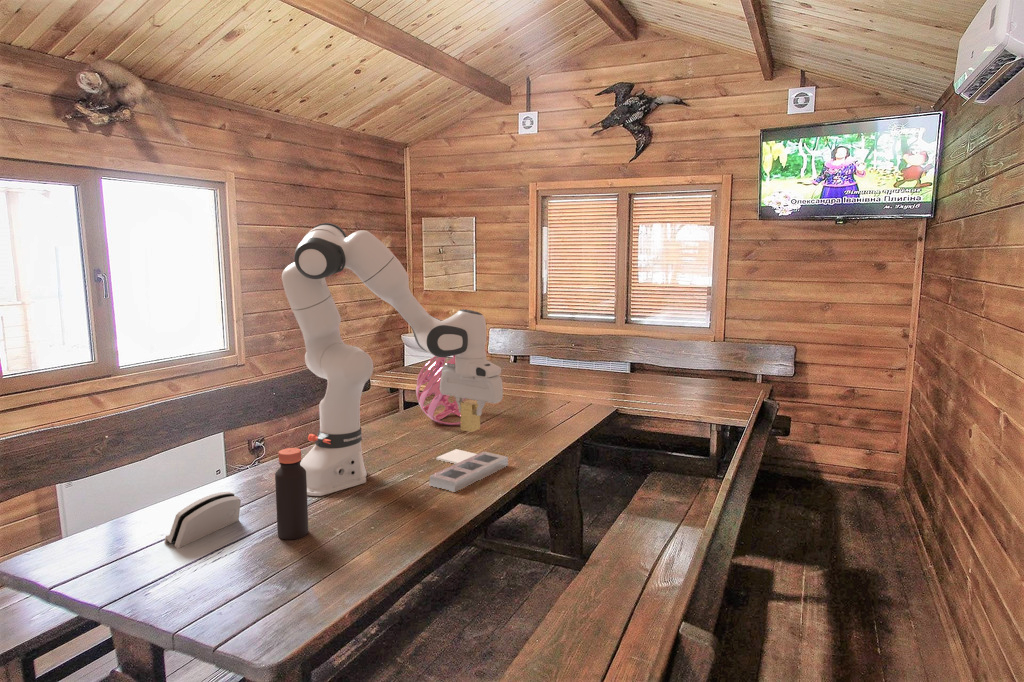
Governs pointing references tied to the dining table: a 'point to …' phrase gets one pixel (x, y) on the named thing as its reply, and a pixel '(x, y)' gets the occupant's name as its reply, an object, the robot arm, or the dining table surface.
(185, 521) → the napkin holder
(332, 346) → the robot arm
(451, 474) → the rail
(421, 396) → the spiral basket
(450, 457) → the pad
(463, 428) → the block
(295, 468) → the bottle
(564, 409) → the dining table surface
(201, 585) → the dining table surface
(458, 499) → the dining table surface
